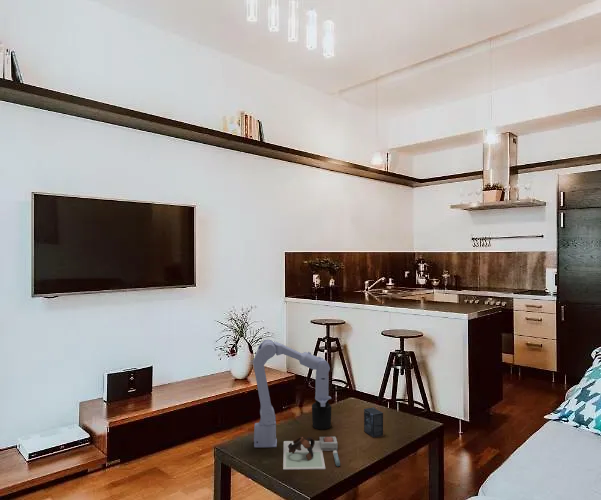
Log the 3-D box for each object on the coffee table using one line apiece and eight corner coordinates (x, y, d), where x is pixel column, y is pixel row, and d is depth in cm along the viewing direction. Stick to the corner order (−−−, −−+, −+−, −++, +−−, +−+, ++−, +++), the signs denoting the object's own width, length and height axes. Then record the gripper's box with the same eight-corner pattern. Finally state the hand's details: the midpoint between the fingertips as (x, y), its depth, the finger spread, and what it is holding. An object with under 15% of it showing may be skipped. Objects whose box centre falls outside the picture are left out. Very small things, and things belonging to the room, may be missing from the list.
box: (363, 431, 206) (363, 408, 206) (374, 429, 208) (374, 407, 209) (372, 437, 199) (372, 414, 199) (383, 436, 201) (383, 412, 201)
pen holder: (335, 425, 214) (334, 404, 215) (325, 431, 207) (325, 409, 207) (318, 421, 219) (318, 400, 220) (308, 427, 212) (308, 406, 212)
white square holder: (320, 450, 185) (320, 443, 186) (319, 443, 192) (319, 436, 193) (337, 450, 186) (337, 443, 186) (335, 443, 193) (335, 436, 193)
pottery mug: (305, 465, 173) (295, 445, 174) (291, 468, 179) (281, 449, 180) (324, 447, 181) (314, 429, 183) (310, 451, 188) (300, 433, 189)
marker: (335, 466, 171) (335, 461, 171) (332, 455, 181) (332, 450, 181) (340, 466, 171) (340, 461, 171) (337, 455, 181) (337, 450, 181)
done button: (324, 447, 187) (324, 440, 187) (323, 444, 191) (323, 436, 191) (333, 447, 187) (333, 439, 187) (332, 444, 191) (332, 436, 191)
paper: (283, 469, 168) (283, 468, 168) (283, 441, 194) (283, 441, 194) (325, 469, 169) (325, 468, 169) (320, 441, 195) (320, 440, 195)
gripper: (332, 391, 189) (332, 424, 189) (329, 382, 203) (329, 412, 203) (315, 391, 189) (315, 424, 188) (314, 382, 203) (314, 412, 203)
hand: (321, 418), depth 196 cm, fingers closed
